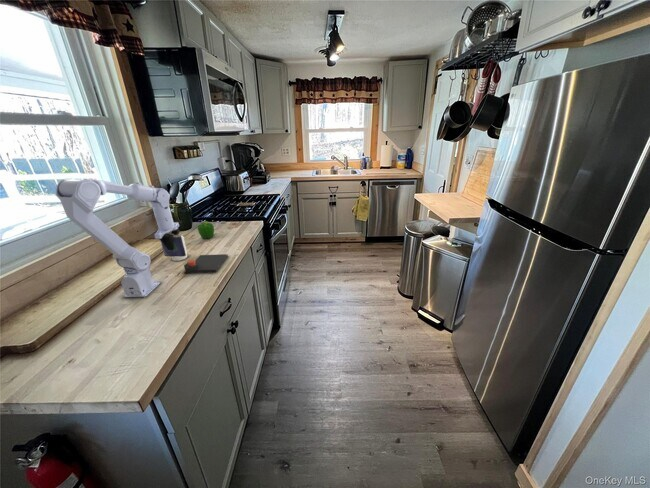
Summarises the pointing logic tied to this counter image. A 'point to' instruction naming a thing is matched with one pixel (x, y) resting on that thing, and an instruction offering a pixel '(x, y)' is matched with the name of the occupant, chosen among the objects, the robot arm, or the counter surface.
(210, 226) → the bell pepper
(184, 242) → the white cup
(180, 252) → the dark blue flat block
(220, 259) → the scale
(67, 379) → the counter surface
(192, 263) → the tare button
